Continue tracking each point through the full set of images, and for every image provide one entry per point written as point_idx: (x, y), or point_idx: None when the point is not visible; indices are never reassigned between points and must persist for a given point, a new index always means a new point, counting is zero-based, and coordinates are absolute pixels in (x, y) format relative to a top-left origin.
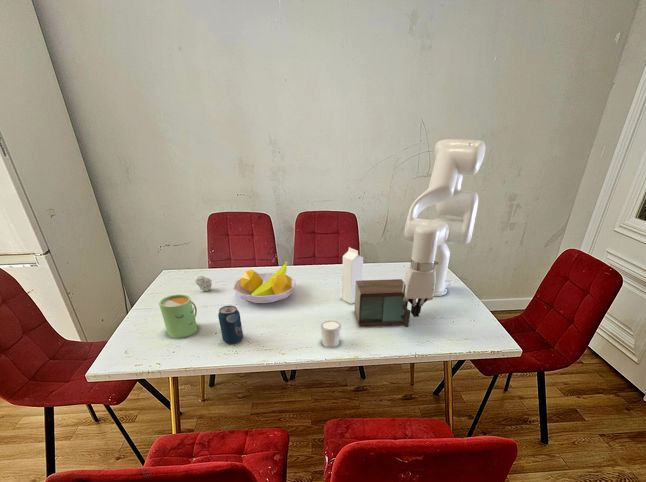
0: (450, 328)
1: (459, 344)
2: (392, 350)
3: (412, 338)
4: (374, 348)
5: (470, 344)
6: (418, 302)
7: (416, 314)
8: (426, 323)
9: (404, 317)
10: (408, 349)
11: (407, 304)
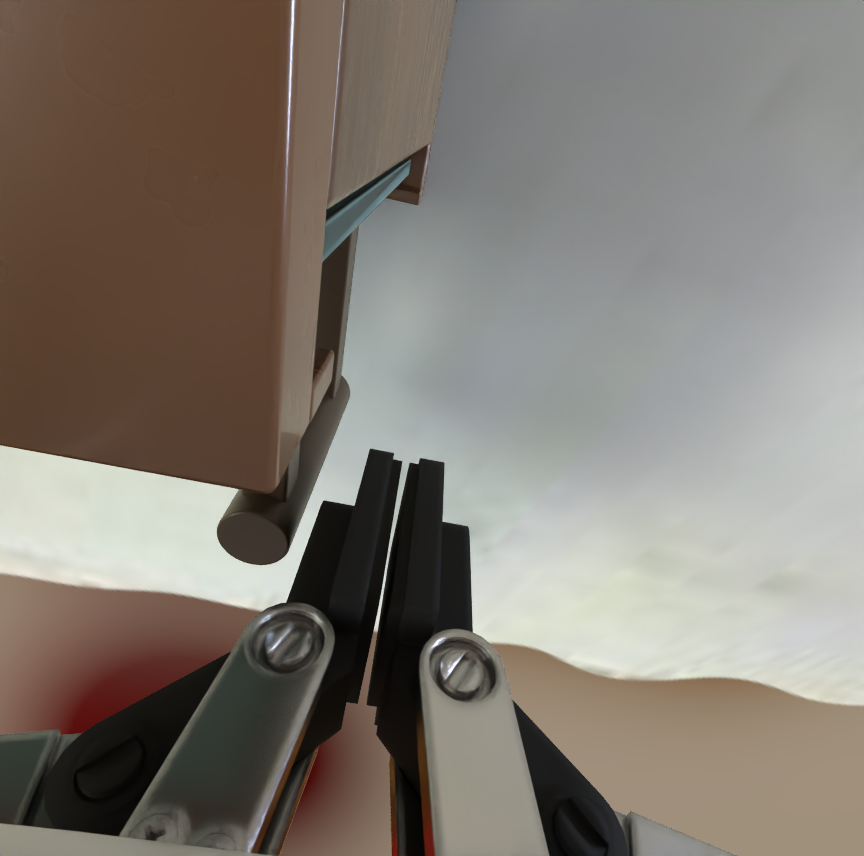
0: (837, 422)
1: (667, 617)
2: (150, 550)
3: (364, 465)
4: (8, 497)
5: (739, 634)
6: (403, 731)
7: (389, 564)
8: (693, 241)
9: (338, 267)
10: (272, 570)
11: (402, 160)
